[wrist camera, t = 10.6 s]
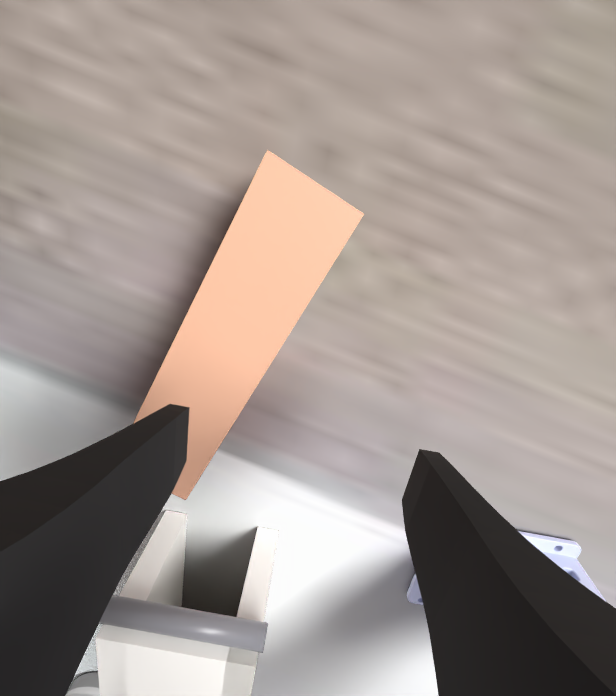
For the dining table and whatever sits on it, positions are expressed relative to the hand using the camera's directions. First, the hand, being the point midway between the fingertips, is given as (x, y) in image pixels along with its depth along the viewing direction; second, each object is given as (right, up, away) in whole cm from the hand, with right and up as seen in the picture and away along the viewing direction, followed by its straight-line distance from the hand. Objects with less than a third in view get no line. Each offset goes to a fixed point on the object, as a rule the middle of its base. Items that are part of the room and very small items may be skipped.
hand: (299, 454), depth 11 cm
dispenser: (-7, -14, +16) cm, 22 cm away
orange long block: (-3, +5, +9) cm, 11 cm away
